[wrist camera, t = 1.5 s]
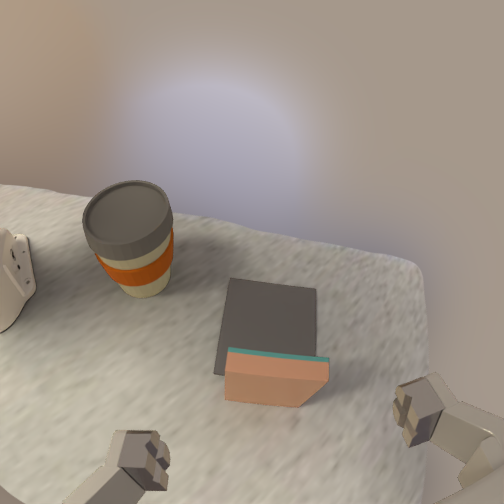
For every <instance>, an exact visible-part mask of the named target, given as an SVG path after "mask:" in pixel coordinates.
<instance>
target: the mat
mask: <svg viewBox="0 0 504 504" xmlns="http://www.w3.org/2000/svg"><path fill="white" fill-rule="evenodd" d="M315 329H316V289H312V288H304V287H296V286H288V285H280V284H272V283H265V282H257V281H250V280H242V279H235V278H230V280H229V286H228V291H227V297H226V303H225V308H224V314H223V320H222V326H221V332H220V337H219V343H218V349H217V355H216V361H215V367H214V374H218V375H224V376H225V367H226V360H227V354H228V347H232V348H239V349H247V350H255V351H263V352H272V353H281V354H291V355H301V356H313V357H315Z"/></svg>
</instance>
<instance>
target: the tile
mask: <svg viewBox="0 0 504 504" xmlns="http://www.w3.org/2000/svg"><path fill="white" fill-rule="evenodd" d="M328 381H329V358H325V357H313V356H301V355H291V354H281V353H272V352H263V351H255V350H247V349H239V348H232V347H228V354H227V360H226V367H225V400H229V401H237V402H244V403H253V404H262V405H272V406H284V407H297V408H298V407H299V406H301V405H302V404H303V403H304V402H305V401H307V400H308V399H309V398H310V397H311V396H312V395H314V394H315V393H316V392H317V391H318V390H319V389H320V388H322V387H323V386H324V385H325V384H326V383H327V382H328Z"/></svg>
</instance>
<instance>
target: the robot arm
mask: <svg viewBox="0 0 504 504" xmlns="http://www.w3.org/2000/svg"><path fill="white" fill-rule="evenodd" d="M35 291H36V284H35V279H34V274H33V269H32V263H31V258H30V252H29V246H28V239H27V237H26V236H25V235H22V234H13V235H12V234H11V233H10V232H9V231H8V230H7V229H5V228H0V332H2V331H4V330H5V329H7V328H8V327H9V326H10V325H11V324H12V323H13V322H14V321H15V320H16V318H17V317H18V315H19V314H20V312H21V310H22V308H23V306H24V304H25V302H26V301H27V300H28V299H29V298H30V297H31V296H32V295H33V294H34V292H35ZM395 394H396V396H397V398H396V399H395V400H394V401H393V415H394V418H395V421H396V423H397V425H399V426H401V427H402V428H404V429H403V432H402V435H403V438H404V440H405V442H406V444H407V446H408V448H410V447H413V446H416V445H419V444H421V443H424V442H426V441H429V440H430V442H432V443H433V444H435V445H437V446H438V447H440V448H441V449H443V450H444V451H446V452H448V453H449V454H451V455H452V456H454V457H456V458H457V459H459V460H460V461H462V462H464V463H465V464H466V465H465V467H464V468H463V470H462V471H461V472H460V474H459V476H458V480H459V482H460V484H461V486H462V488H463V489H462V490H460V491H458V492H457V493H455V494H452V495H450V496H448V497H446V498H444V499H442V500H440V501H438V502H436V503H434V504H504V419H503V418H500V417H498V416H496V415H493V414H491V413H489V412H486V411H484V410H481V409H479V408H477V407H474V406H472V405H469V404H467V403H465V402H463V401H462V402H458V401H457V400H456V398H455V397H454V395H453V394H452V392H451V391H450V389H449V388H448V386H447V385H446V384H445V382H444V381H443V379H442V378H441V377H440V375H439V374H438V373H436V372H435V373H432V374H429V375H427V376H424V377H420V378H418V379H415V380H413V381H410V382H407V383H405V384H402V385H399V386H397V388H396V391H395ZM169 466H170V452H169V449H168V446H167V445H166V443H165V442H163V441H161V440H160V435H159V433H158V432H157V431H156V430H116V431H115V432H114V433H113V436H112V440H111V443H110V447H109V451H108V454H107V458H106V462H105V465H104V466H100V467H99V468H98V469H97V470H96V471H95V472H94V473H93V474H92V475H91V476H90V477H89V478H88V479H86V480H85V481H84V482H83V483H82V484H81V485H80V486H79V487H78V488H77V489H76V490H74V491H73V492H72V493H71V494H70V495H69V496H68V497H67V498H66V499H65V500H63V502H62V504H137V503H138V501H139V500H140V499H141V497H142V496H143V495H144V493H145V491H167V486H168V477H169V476H168V474H167V473H166V471H165V470H166V469H167V468H168V467H169Z"/></svg>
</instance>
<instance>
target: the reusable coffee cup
mask: <svg viewBox="0 0 504 504" xmlns="http://www.w3.org/2000/svg"><path fill="white" fill-rule="evenodd" d="M82 223H83V228H84V232H85V235H86V239H87V242H88V244H89V246H90V248H91V249H92V250H93V251H94V252H95V255H96V257H97V259H98V261H99V262H100V264H101V265H102V266H103V268H104V269H105V271H106V272H107V273H108V275H109V276H110V277H111V278H112V279H113V280H114V281H116V282H117V283H118V284H119V285H120V287H121V288H122V289H123V290H124V291H125V292H126V293H127V294H128V295H130V296H133V297H136V298H147V297H151V296H154V295H156V294H158V293H159V292H161V291H162V290H163V289H164V288H165V287H166V285H167V284H168V282H169V279H170V273H171V267H170V265H171V262H172V259H173V228H172V225H173V215H172V211H171V207H170V204H169V201H168V198H167V195H166V194H165V192H164V191H163V190H162V189H161V188H160V187H158V186H157V185H155V184H152V183H150V182H146V181H139V180H132V181H125V182H120V183H117V184H114V185H111V186H110V187H107V188H105V189H104V190H102V191H100V192H99V193H98V194H97V195H95V196H94V197H93V198H92V199H91V201H90V202H89V203H88V205H87V206H86V208H85V210H84V213H83V219H82Z"/></svg>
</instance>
